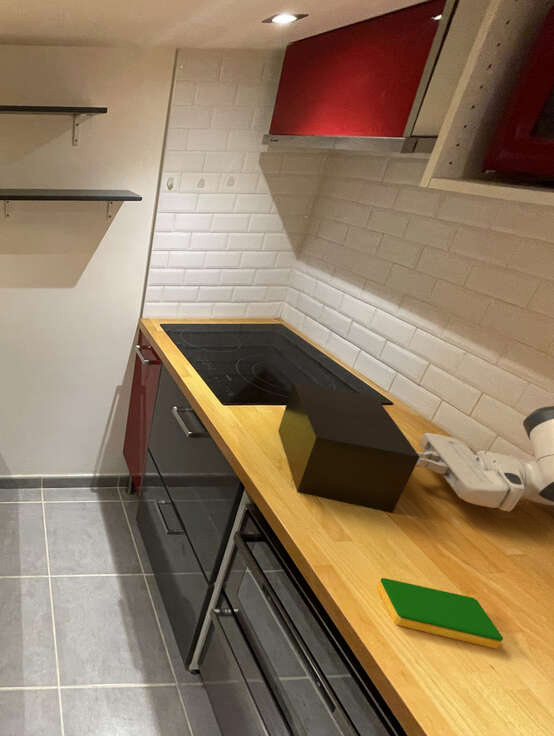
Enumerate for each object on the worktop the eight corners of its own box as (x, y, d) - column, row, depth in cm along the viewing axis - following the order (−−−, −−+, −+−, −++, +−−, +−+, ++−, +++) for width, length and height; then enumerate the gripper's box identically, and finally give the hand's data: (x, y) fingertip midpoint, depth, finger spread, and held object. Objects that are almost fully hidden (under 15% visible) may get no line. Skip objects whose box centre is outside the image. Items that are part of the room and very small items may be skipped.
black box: (364, 447, 114) (384, 397, 108) (403, 515, 94) (431, 459, 87) (278, 430, 120) (293, 382, 114) (297, 492, 99) (316, 437, 93)
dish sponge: (375, 586, 79) (380, 576, 78) (469, 607, 75) (476, 597, 74) (394, 624, 72) (399, 615, 71) (498, 649, 69) (505, 640, 68)
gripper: (471, 433, 104) (400, 421, 108) (530, 494, 86) (442, 477, 90) (460, 454, 106) (391, 442, 110) (514, 518, 89) (430, 500, 93)
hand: (414, 458), depth 100 cm, fingers closed
